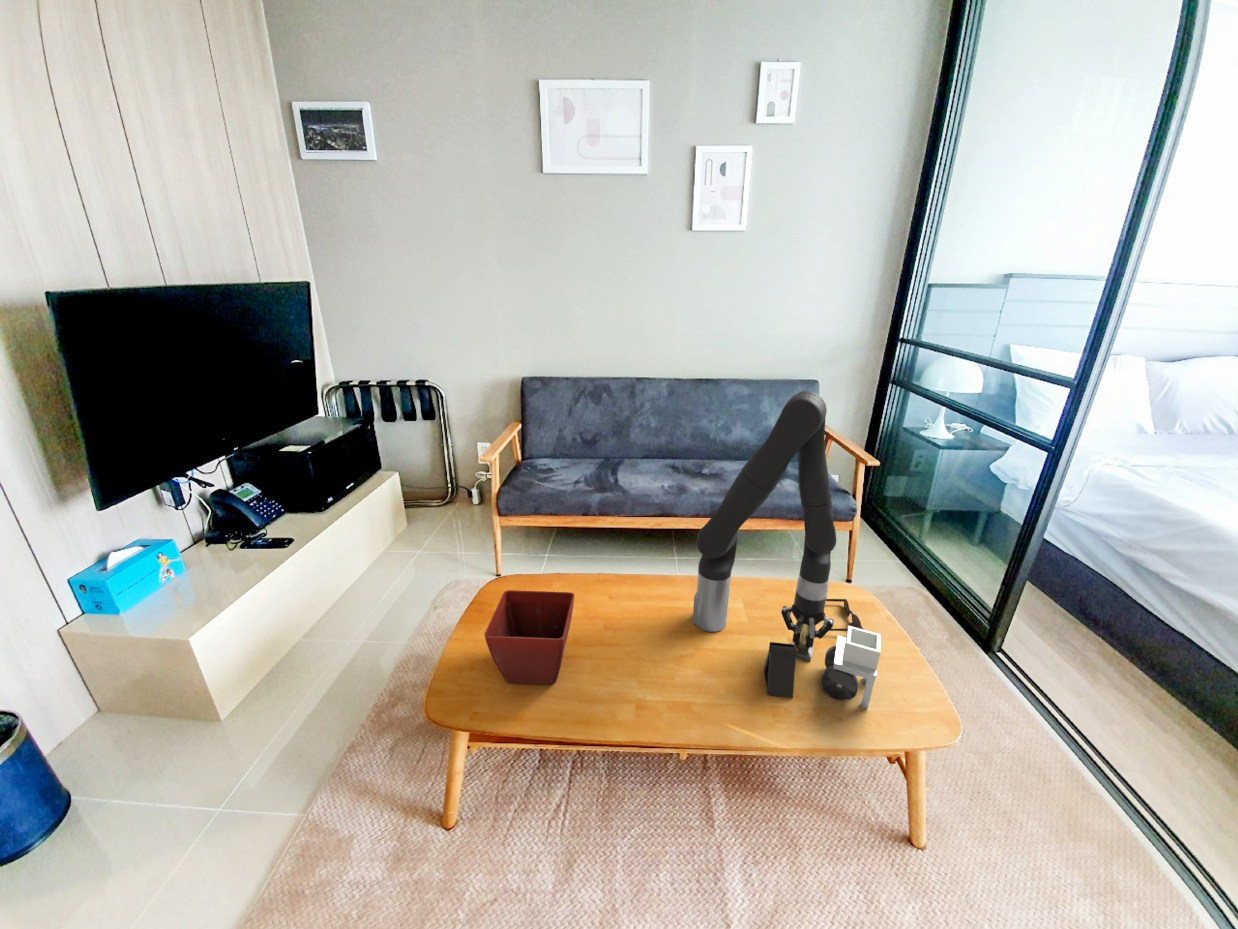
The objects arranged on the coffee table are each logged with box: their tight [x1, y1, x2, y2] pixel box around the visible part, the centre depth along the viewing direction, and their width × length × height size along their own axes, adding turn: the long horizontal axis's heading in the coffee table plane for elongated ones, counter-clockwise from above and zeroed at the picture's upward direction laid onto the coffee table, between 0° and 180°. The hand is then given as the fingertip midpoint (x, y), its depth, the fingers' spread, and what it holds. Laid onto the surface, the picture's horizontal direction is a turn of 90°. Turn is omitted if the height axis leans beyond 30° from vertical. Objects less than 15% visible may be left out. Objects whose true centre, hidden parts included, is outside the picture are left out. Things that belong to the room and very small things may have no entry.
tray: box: [843, 625, 882, 671], centre depth 122 cm, size 7×7×5 cm
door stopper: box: [763, 641, 797, 699], centre depth 126 cm, size 9×6×12 cm, turn 171°
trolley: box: [820, 635, 877, 710], centre depth 125 cm, size 11×11×10 cm
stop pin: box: [796, 623, 810, 654], centre depth 137 cm, size 3×3×10 cm
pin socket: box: [791, 641, 815, 662], centre depth 138 cm, size 5×5×2 cm
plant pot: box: [484, 589, 575, 685], centre depth 130 cm, size 19×19×17 cm
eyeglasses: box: [826, 598, 865, 632], centre depth 151 cm, size 15×15×5 cm
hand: (802, 644), depth 138 cm, fingers closed on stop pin, 2 cm apart
